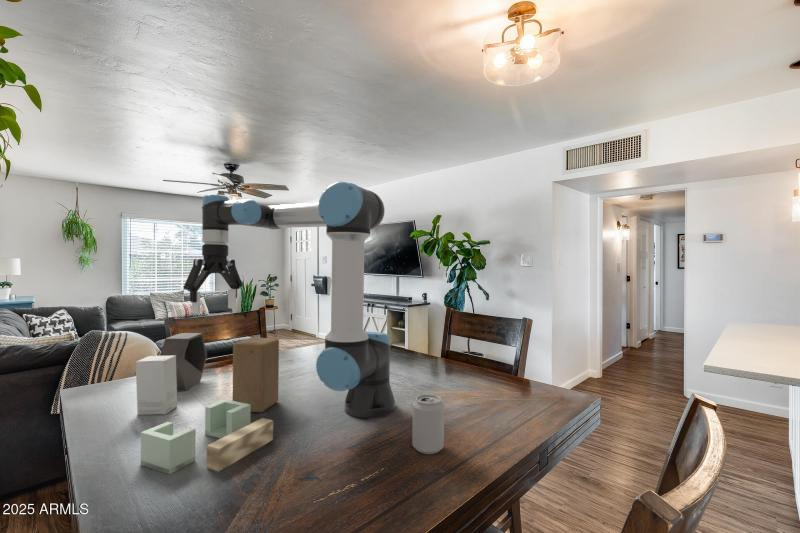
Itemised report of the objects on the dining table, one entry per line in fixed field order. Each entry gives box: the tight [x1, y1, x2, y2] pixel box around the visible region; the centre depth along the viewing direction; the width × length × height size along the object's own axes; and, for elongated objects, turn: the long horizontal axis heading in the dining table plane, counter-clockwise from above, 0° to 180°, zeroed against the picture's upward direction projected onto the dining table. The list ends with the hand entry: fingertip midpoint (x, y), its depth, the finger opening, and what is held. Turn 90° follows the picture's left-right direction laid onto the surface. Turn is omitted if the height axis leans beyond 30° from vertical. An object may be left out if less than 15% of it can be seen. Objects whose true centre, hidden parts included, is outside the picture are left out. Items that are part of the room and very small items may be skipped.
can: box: [411, 393, 445, 455], centre depth 91 cm, size 8×8×12 cm
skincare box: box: [135, 355, 178, 416], centre depth 111 cm, size 8×7×16 cm
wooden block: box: [232, 337, 280, 413], centre depth 116 cm, size 10×10×20 cm
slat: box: [206, 417, 274, 473], centre depth 88 cm, size 16×4×5 cm, turn 156°
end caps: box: [140, 399, 252, 475], centre depth 90 cm, size 22×9×7 cm, turn 157°
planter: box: [159, 332, 208, 392], centre depth 134 cm, size 17×8×21 cm
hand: (214, 310), depth 122 cm, fingers open, 13 cm apart
